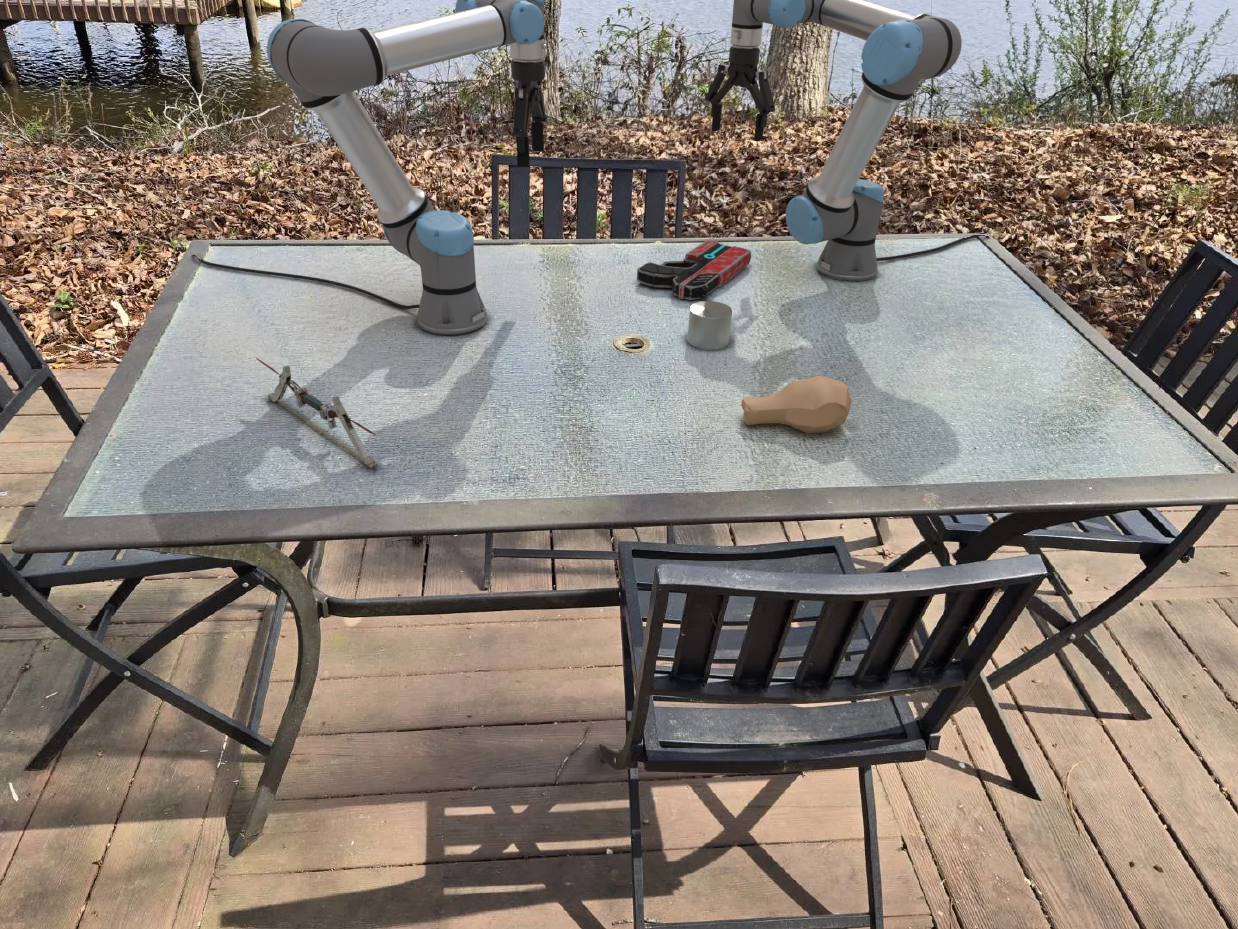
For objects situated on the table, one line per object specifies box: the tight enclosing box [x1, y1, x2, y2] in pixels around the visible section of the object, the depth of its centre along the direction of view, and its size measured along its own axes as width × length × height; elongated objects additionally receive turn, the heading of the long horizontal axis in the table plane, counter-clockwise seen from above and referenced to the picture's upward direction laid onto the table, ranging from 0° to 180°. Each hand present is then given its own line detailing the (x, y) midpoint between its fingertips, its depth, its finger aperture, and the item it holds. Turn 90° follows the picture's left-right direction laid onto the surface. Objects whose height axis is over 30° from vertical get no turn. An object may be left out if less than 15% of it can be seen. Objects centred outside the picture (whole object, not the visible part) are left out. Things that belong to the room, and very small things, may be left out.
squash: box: [740, 375, 852, 434], centre depth 161 cm, size 11×20×9 cm, turn 90°
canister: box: [686, 300, 733, 351], centre depth 190 cm, size 9×9×8 cm
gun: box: [636, 239, 752, 301], centre depth 222 cm, size 4×31×19 cm
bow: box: [255, 357, 378, 469], centre depth 154 cm, size 39×2×10 cm, turn 47°
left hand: (531, 158), depth 205 cm, fingers open, 13 cm apart
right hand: (736, 135), depth 229 cm, fingers open, 13 cm apart
